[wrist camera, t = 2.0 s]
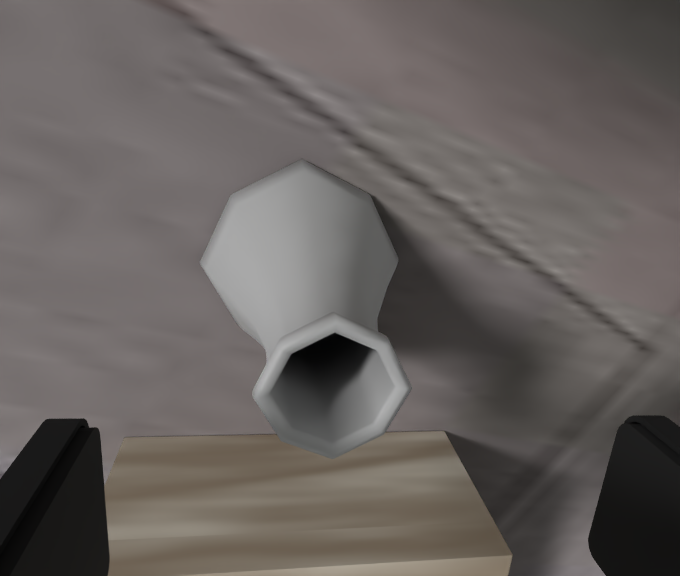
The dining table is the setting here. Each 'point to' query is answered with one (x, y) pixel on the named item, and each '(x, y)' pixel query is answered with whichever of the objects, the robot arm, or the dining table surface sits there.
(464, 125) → the dining table surface
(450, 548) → the grooved beige box
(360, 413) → the flask
